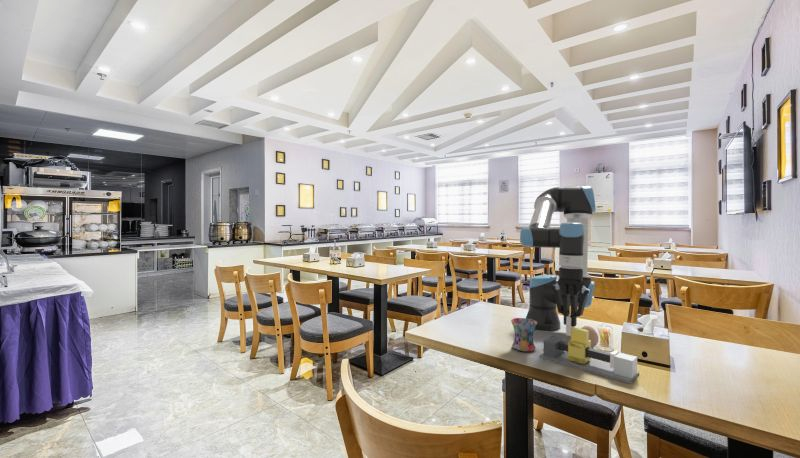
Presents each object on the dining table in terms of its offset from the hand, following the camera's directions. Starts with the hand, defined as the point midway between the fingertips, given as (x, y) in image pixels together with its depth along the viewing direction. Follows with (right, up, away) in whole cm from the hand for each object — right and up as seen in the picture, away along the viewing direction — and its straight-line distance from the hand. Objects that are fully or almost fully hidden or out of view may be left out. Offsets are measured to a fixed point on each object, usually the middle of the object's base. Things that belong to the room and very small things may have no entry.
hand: (569, 334), depth 124 cm
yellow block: (+2, -8, -2) cm, 8 cm away
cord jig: (+4, -9, -4) cm, 11 cm away
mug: (-11, -9, +12) cm, 19 cm away
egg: (+13, -9, +13) cm, 20 cm away
